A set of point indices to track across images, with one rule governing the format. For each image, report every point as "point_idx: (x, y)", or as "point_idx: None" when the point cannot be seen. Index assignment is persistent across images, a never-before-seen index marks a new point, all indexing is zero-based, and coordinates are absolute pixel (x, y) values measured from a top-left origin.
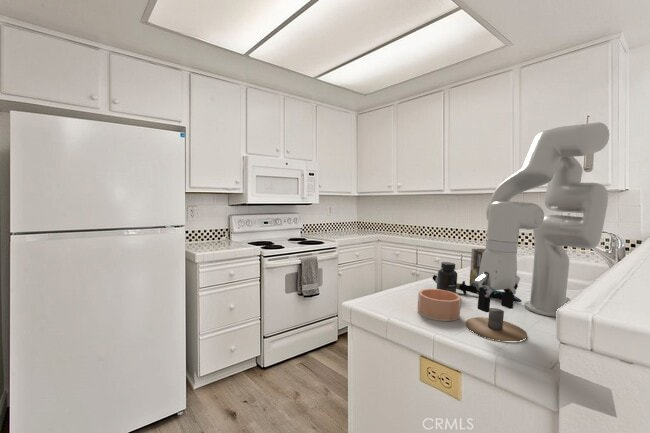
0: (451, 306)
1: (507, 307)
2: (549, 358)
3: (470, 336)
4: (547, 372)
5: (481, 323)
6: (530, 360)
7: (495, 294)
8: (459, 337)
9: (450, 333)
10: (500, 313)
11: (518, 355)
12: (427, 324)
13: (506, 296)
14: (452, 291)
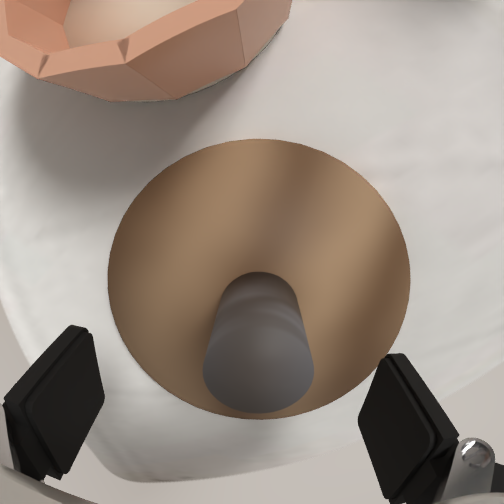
0: (69, 85)
1: (365, 401)
2: (207, 473)
3: (73, 283)
4: (130, 476)
5: (245, 229)
6: (140, 453)
7: None
8: (30, 264)
9: (23, 219)
10: (233, 405)
11: (130, 433)
12: (11, 103)
13: (398, 454)
14: None
